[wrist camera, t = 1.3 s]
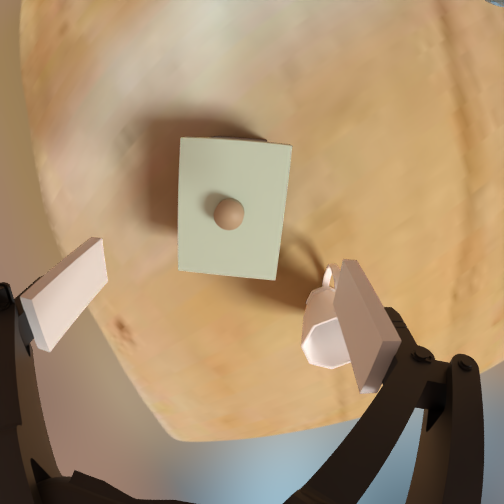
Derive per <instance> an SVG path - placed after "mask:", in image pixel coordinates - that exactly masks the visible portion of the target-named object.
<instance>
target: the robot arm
mask: <svg viewBox="0 0 504 504" xmlns="http://www.w3.org/2000/svg"><path fill="white" fill-rule="evenodd" d="M485 1H487V2H489V3H491V4H493V5H497V6H500V7H504V0H485ZM107 282H108V278H107V271H106V264H105V257H104V249H103V241H102V238H96V237H91V238H89V239H88V240H87V241H86V242H84V243H83V244H82V245H80V246H79V247H78V248H77V249H75V250H74V251H73V252H71V253H70V254H69V255H68V256H67V257H65V258H64V259H63V260H62V261H60V262H59V263H58V264H57V265H56V266H54V267H53V268H52V269H51V270H50V271H48V272H47V273H46V274H45V275H43V276H41V277H39V278H38V279H37V280H35V281H34V282H33V284H31V285H30V286H29V287H28V288H26V289H25V290H24V291H23V292H22V293H21V294H20V295H19V296H17V297H16V298H15V299H14V298H13V295H12V291H11V288H10V285H9V284H8V283H5V282H2V283H0V504H194V503H189V502H183V501H177V500H141V499H135V498H132V497H131V496H129V495H127V494H125V493H123V492H122V491H120V490H118V489H116V488H114V487H113V486H111V485H110V484H108V483H106V482H105V481H102V480H99V479H97V478H94V477H91V476H88V475H86V474H83V473H81V472H78V471H74V473H73V475H72V477H64V476H62V475H61V473H60V471H59V469H58V467H57V465H56V461H55V458H54V455H53V452H52V448H51V445H50V441H49V437H48V434H47V430H46V426H45V421H44V417H43V413H42V408H41V403H40V398H39V392H38V387H37V381H36V374H35V367H34V359H33V350H32V347H31V344H30V342H31V341H32V339H35V342H36V344H37V347H38V348H39V349H42V350H45V351H48V352H51V350H52V349H53V347H54V346H55V345H56V344H57V342H58V341H59V340H60V339H61V337H62V336H63V335H64V334H65V332H66V331H67V330H68V328H69V327H70V326H71V325H72V323H73V322H74V321H75V320H76V319H77V317H78V316H79V315H80V314H81V312H82V311H83V310H84V309H85V307H86V306H87V305H88V304H89V303H90V302H91V300H92V299H93V298H94V297H95V296H96V295H97V293H98V292H99V291H100V290H101V289H102V288H103V286H104V285H105V284H106V283H107ZM333 305H334V308H335V311H336V315H337V318H338V321H339V324H340V327H341V330H342V334H343V337H344V340H345V343H346V347H347V350H348V353H349V357H350V360H351V364H352V367H353V371H354V374H355V378H356V381H357V385H358V388H359V392H360V394H362V393H377V392H378V390H379V388H380V386H381V384H382V383H383V386H382V388H381V389H380V391H379V392H378V394H377V395H376V397H375V398H374V400H373V401H372V403H371V404H370V406H369V407H368V408H367V410H366V411H365V413H364V414H363V415H362V417H361V418H360V419H359V421H358V422H357V423H356V425H355V426H354V427H353V429H352V430H351V432H350V433H349V434H348V435H347V436H346V438H345V439H344V440H343V442H342V443H341V444H340V445H339V446H338V448H337V449H336V450H335V451H334V453H333V454H332V455H331V456H330V457H329V458H328V460H327V461H326V462H325V463H324V464H323V465H322V466H321V468H320V469H319V470H318V471H317V472H316V473H315V474H314V475H313V476H312V477H311V479H310V480H309V481H308V482H307V483H306V484H305V485H304V486H303V487H302V488H301V489H299V490H297V491H296V492H295V493H294V494H292V495H291V497H289V498H288V499H287V500H286V501H285V502H284V503H283V504H356V503H357V502H358V501H359V499H360V498H361V497H362V495H363V494H364V493H365V491H366V489H367V488H368V487H369V485H370V484H371V482H372V481H373V480H374V478H375V477H376V475H377V473H378V472H379V470H380V469H381V467H382V466H383V464H384V463H385V461H386V459H387V458H388V456H389V454H390V453H391V451H392V449H393V447H394V446H395V444H396V442H397V441H398V439H399V437H400V435H401V433H402V432H403V430H404V428H405V426H406V424H407V422H408V420H409V418H410V416H411V414H412V412H413V410H414V408H421V409H424V415H423V423H422V429H421V435H420V441H419V447H418V452H417V458H416V463H415V467H414V472H413V476H412V480H411V485H410V489H409V492H408V497H407V500H406V503H405V504H481V497H482V486H483V471H484V419H483V403H482V391H481V382H480V374H479V367H478V365H477V363H476V362H475V360H474V359H473V358H471V357H470V356H467V355H465V354H457V355H455V356H454V357H453V358H452V360H451V361H450V363H448V362H442V361H437V360H435V358H434V355H433V354H432V353H431V352H430V351H429V350H428V349H426V348H424V347H422V346H418V345H417V344H416V342H415V340H414V338H413V337H412V335H411V333H410V331H409V330H408V328H407V326H406V324H405V323H404V322H403V319H402V318H401V316H400V314H399V313H398V312H397V311H395V310H394V309H393V308H392V307H383V305H382V303H381V301H380V300H379V298H378V296H377V294H376V293H375V291H374V289H373V287H372V286H371V284H370V282H369V280H368V279H367V277H366V275H365V273H364V272H363V270H362V268H361V267H360V265H359V263H358V262H357V260H349V259H343V262H342V266H341V271H340V276H339V280H338V284H337V289H336V293H335V297H334V301H333Z"/></svg>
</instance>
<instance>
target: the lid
mask: <svg viewBox="0 0 504 504" xmlns="http://www.w3.org/2000/svg"><path fill="white" fill-rule="evenodd" d="M291 153H292V145H290V144H282V143H273V142H263V141H252V140H240V139H226V138H208V137H181V139H180V158H179V185H178V270H179V271H188V272H197V273H206V274H215V275H225V276H235V277H245V278H255V279H265V280H275V279H276V272H277V265H278V258H279V250H280V243H281V235H282V228H283V220H284V212H285V204H286V196H287V188H288V179H289V171H290V162H291Z"/></svg>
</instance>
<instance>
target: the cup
mask: <svg viewBox="0 0 504 504" xmlns="http://www.w3.org/2000/svg"><path fill="white" fill-rule="evenodd" d="M332 274H333V279H334V285H335V288H332V287H329V282H330V278H331V275H332ZM339 276H340V269H339V267H338V265H337V264H328V265H327V267H326V270H325V273H324V277H323V282H322V287H319V288H317V289H314V290H312V291H311V293H310V295H309V297H308V299H307V300H306V304H307V307H306V310H305V313H304V317H303V329H302V338H301V348H302V350H303V352H304V354H305V356H306V358H307V360H308V362H309V364H313V365H317V366H321V367H325V368H329V369H334V368H336V367H339V366H342V365H345V364H348V363H350V362H351V360H350V357H349V353H348V350H347V347H346V343H345V340H344V337H343V334H342V330H341V327H340V324H339V321H338V318H337V315H336V311H335V308H334V305H333V301H334V297H335V293H336V289H337V284H338V280H339Z"/></svg>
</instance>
